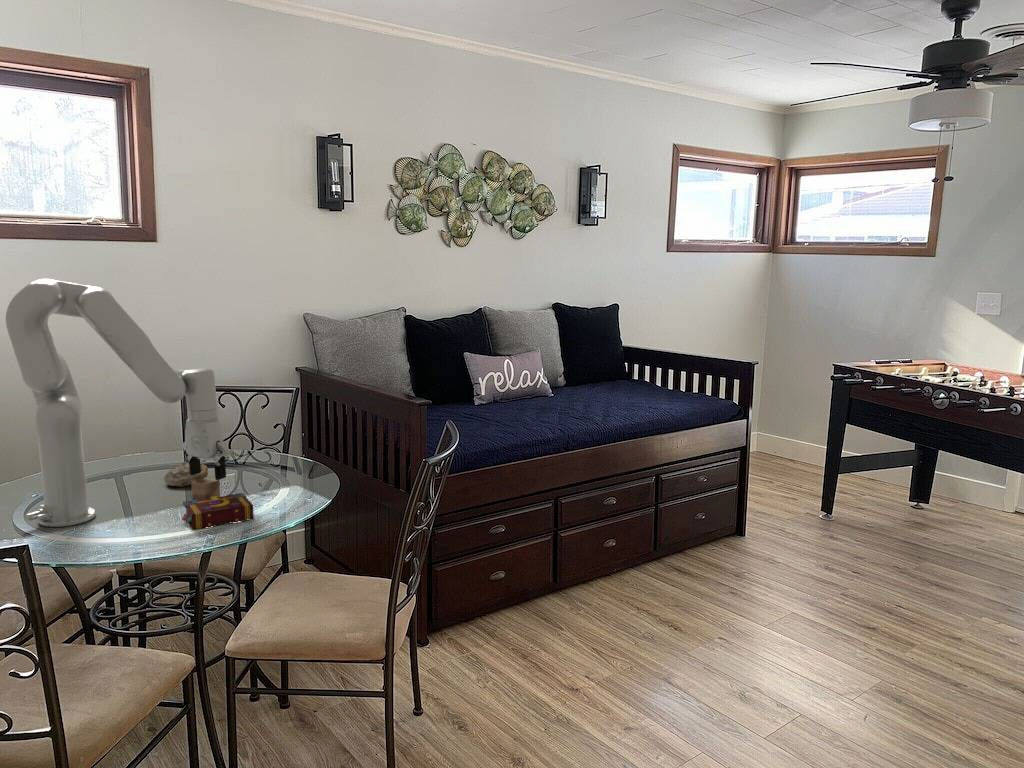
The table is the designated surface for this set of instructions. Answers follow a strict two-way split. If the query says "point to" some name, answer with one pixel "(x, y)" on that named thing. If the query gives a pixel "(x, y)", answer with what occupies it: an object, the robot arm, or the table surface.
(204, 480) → the walnut block
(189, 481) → the fossil
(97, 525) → the table surface
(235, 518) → the decorative book
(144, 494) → the table surface
